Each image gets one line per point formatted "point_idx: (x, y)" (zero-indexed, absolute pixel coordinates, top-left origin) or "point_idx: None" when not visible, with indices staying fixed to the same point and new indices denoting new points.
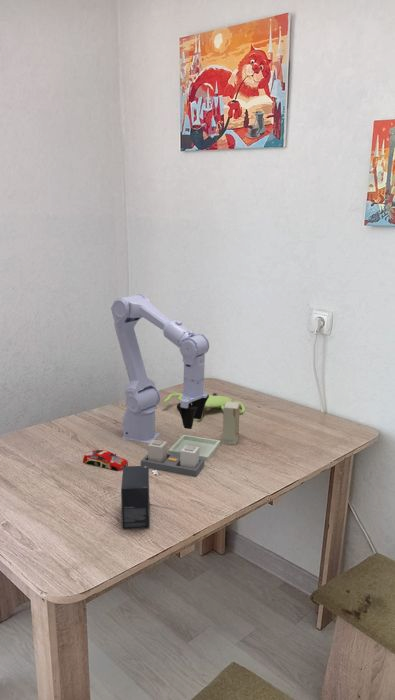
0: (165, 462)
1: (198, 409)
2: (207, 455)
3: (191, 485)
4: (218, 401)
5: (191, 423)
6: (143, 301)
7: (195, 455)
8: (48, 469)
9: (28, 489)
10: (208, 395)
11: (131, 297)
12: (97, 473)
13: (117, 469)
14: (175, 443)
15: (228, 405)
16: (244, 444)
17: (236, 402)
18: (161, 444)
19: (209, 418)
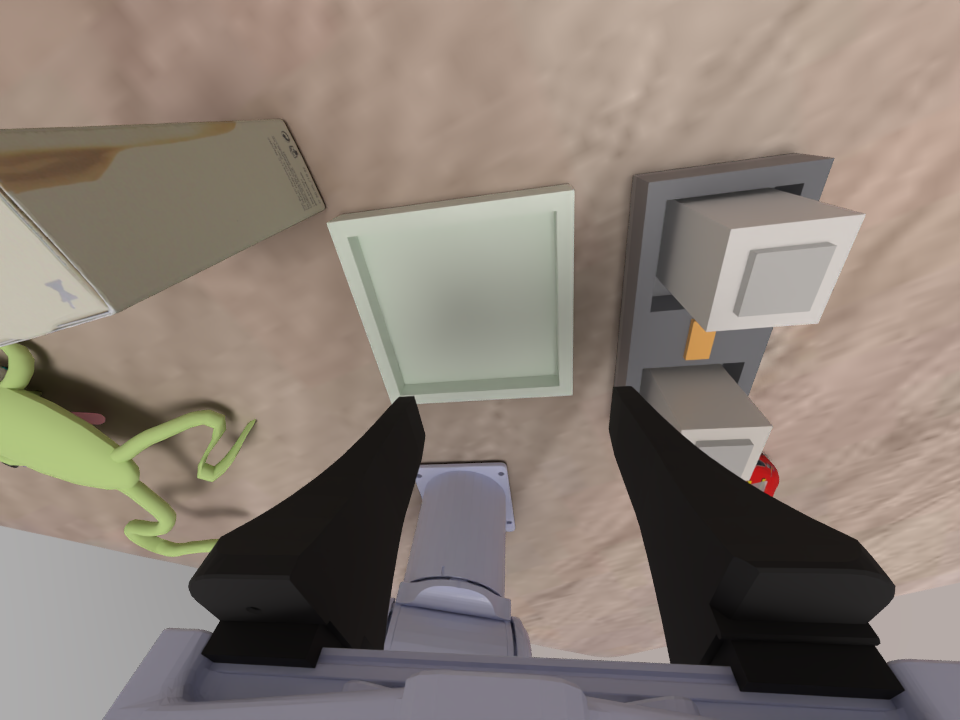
0: (733, 355)
1: (391, 475)
2: (552, 203)
3: (886, 138)
4: (5, 413)
5: (662, 417)
6: None
7: (814, 210)
8: None
9: (897, 570)
10: (211, 579)
11: None
12: (776, 496)
13: (776, 469)
14: (492, 397)
15: (18, 289)
16: (209, 77)
17: None
18: (728, 439)
19: (146, 383)
